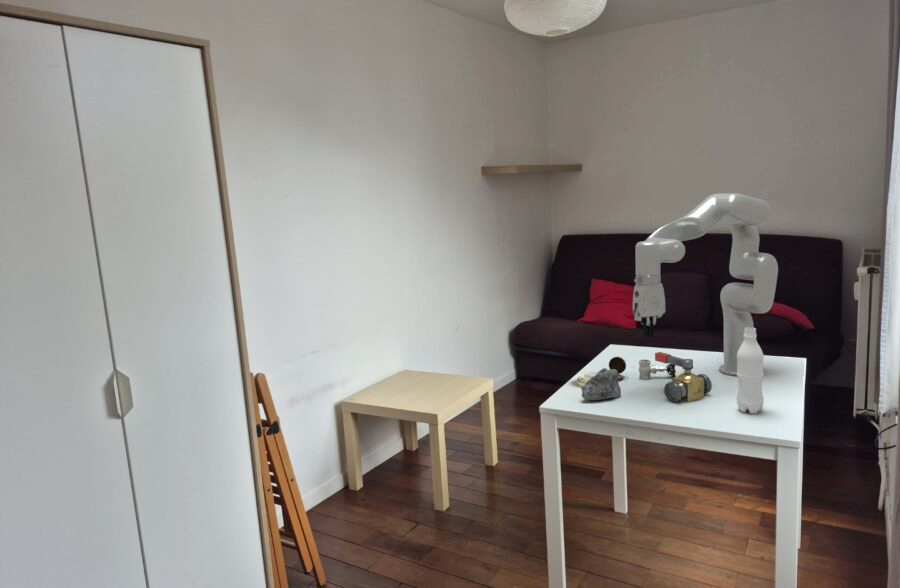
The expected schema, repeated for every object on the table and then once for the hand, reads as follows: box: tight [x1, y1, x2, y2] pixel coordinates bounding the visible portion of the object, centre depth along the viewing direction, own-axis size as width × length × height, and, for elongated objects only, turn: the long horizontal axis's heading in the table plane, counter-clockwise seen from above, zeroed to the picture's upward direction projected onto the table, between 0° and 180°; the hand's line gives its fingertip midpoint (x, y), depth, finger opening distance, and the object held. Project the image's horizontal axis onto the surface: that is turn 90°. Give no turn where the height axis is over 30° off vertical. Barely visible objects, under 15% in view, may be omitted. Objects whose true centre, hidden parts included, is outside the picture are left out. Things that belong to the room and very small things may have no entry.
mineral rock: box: [580, 367, 622, 401], centre depth 215 cm, size 13×11×10 cm
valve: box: [638, 358, 677, 381], centre depth 231 cm, size 7×7×12 cm
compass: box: [608, 356, 629, 382], centre depth 234 cm, size 8×8×7 cm
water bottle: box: [736, 326, 765, 415], centre depth 193 cm, size 7×7×25 cm
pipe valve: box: [663, 369, 713, 404], centre depth 209 cm, size 14×8×9 cm, turn 117°
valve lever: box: [654, 351, 694, 371], centre depth 213 cm, size 15×3×3 cm, turn 27°
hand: (648, 336), depth 211 cm, fingers closed
